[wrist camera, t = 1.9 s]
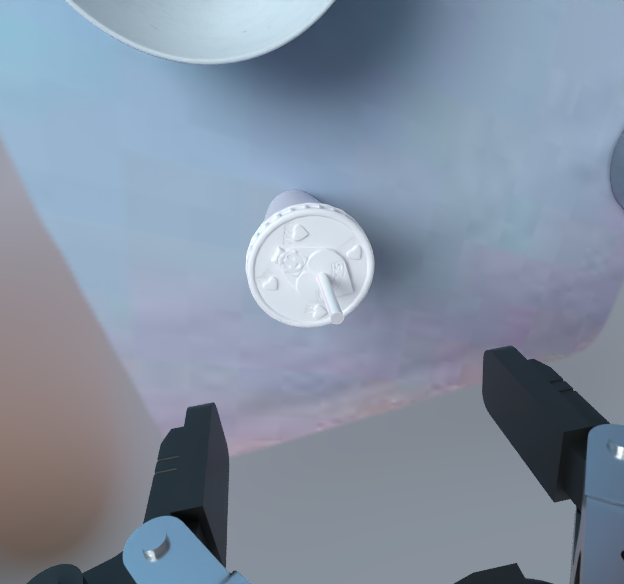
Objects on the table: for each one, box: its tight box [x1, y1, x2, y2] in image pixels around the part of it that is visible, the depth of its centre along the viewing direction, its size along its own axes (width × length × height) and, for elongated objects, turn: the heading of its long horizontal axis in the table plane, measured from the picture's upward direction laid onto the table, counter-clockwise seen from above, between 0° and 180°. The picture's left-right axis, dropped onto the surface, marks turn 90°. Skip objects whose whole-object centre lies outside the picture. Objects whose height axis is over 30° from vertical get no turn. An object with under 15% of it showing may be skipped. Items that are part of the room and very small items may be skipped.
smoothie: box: [246, 190, 375, 328], centre depth 25 cm, size 6×6×14 cm
